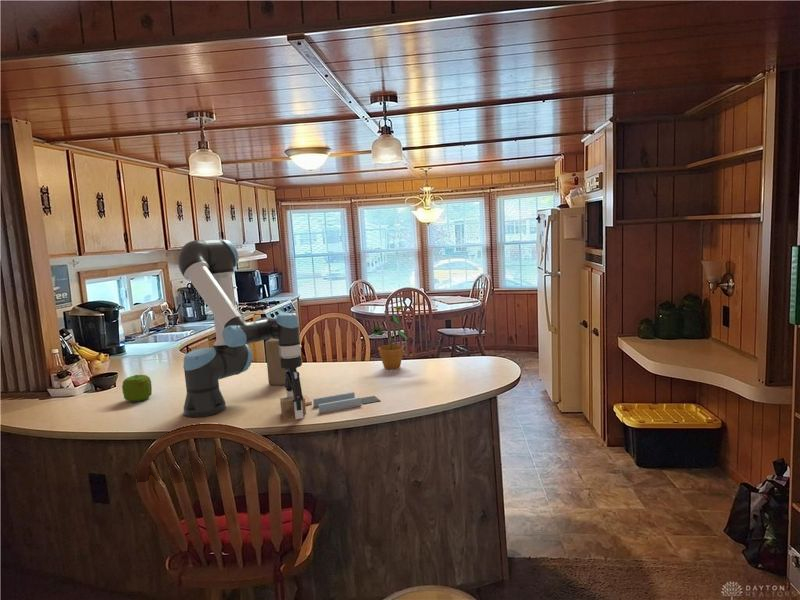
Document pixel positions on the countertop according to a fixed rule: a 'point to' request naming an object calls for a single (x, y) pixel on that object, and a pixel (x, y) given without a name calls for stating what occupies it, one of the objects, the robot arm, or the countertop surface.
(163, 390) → the countertop surface
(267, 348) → the wooden block
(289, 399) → the block
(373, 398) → the trap mat
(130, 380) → the green rounded cube
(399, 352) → the potted plant
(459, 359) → the countertop surface
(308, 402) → the tile
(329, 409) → the channel
